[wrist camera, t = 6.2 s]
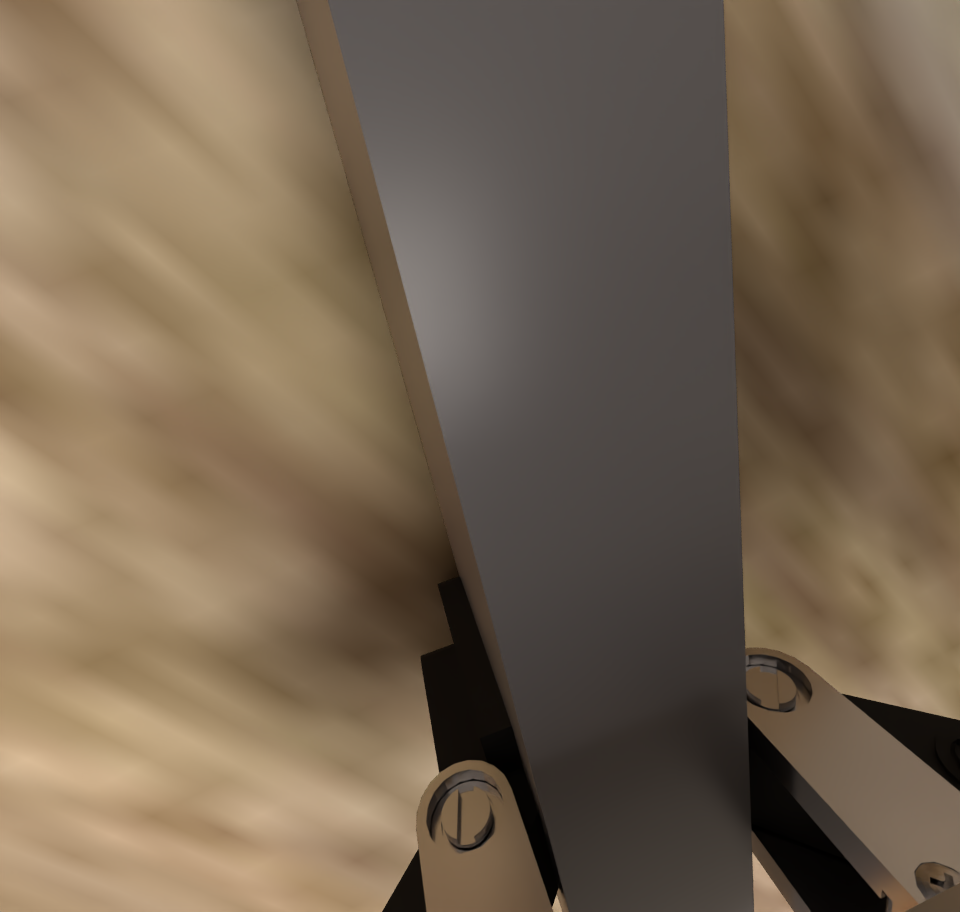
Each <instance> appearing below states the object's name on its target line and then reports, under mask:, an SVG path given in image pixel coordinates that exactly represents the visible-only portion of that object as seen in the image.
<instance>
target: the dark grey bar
mask: <svg viewBox="0 0 960 912" xmlns="http://www.w3.org/2000/svg"><path fill="white" fill-rule="evenodd" d="M296 1H297V5H298V8H299V12H300V15H301V19H302V22H303V26H304V30H305V33H306V37H307V40H308V44H309V47H310V51H311V54H312V58H313V61H314V65H315V68H316V72H317V75H318V79H319V82H320V86H321V90H322V93H323V97H324V100H325V104H326V107H327V111H328V114H329V118H330V121H331V125H332V128H333V132H334V135H335V139H336V143H337V146H338V150H339V153H340V157H341V160H342V164H343V167H344V171H345V174H346V178H347V181H348V185H349V188H350V192H351V195H352V199H353V203H354V206H355V210H356V213H357V217H358V220H359V224H360V227H361V231H362V234H363V238H364V241H365V245H366V248H367V252H368V256H369V259H370V263H371V266H372V270H373V273H374V277H375V280H376V284H377V287H378V291H379V294H380V298H381V301H382V305H383V309H384V312H385V316H386V319H387V323H388V326H389V330H390V333H391V337H392V340H393V344H394V347H395V351H396V354H397V358H398V361H399V365H400V369H401V372H402V376H403V379H404V383H405V386H406V390H407V393H408V397H409V400H410V404H411V407H412V411H413V414H414V418H415V422H416V425H417V429H418V432H419V436H420V439H421V443H422V446H423V450H424V453H425V457H426V460H427V464H428V467H429V471H430V474H431V478H432V482H433V485H434V489H435V492H436V496H437V499H438V503H439V506H440V510H441V513H442V517H443V520H444V524H445V527H446V531H447V535H448V538H449V542H450V545H451V549H452V552H453V556H454V559H455V563H456V566H457V570H458V573H459V577H460V578H461V580H462V583H463V586H464V589H465V592H466V595H467V598H468V601H469V603H470V606H471V609H472V612H473V615H474V618H475V621H476V624H477V627H478V629H479V632H480V635H481V638H482V641H483V644H484V647H485V650H486V653H487V655H488V658H489V661H490V664H491V667H492V670H493V673H494V676H495V679H496V682H497V684H498V687H499V690H500V693H501V696H502V699H503V702H504V705H505V708H506V710H507V713H508V716H509V719H510V722H511V725H512V728H513V732H514V736H515V739H516V743H517V747H518V750H519V754H520V758H521V761H522V765H523V768H524V771H525V774H526V777H527V780H528V783H529V786H530V789H531V792H532V795H533V798H534V801H535V804H536V807H537V810H538V813H539V817H540V820H541V824H542V828H543V831H544V835H545V839H546V842H547V846H548V850H549V854H550V857H551V861H552V865H553V868H554V872H555V876H556V880H557V883H558V887H559V888H558V891H557V896H558V899H559V902H560V905H561V908H562V912H754V896H753V866H752V837H751V807H750V777H749V747H748V718H747V688H746V658H745V629H744V599H743V569H742V539H741V510H740V480H739V450H738V421H737V391H736V361H735V331H734V302H733V272H732V242H731V213H730V183H729V153H728V123H727V94H726V64H725V34H724V4H723V0H296Z"/></svg>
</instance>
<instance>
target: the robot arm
mask: <svg viewBox="0 0 960 912" xmlns="http://www.w3.org/2000/svg"><path fill="white" fill-rule="evenodd" d="M438 587H439V591H440V594H441V598H442V602H443V605H444V609H445V613H446V616H447V620H448V624H449V627H450V631H451V634H452V638H453V642H454V644H452V645H450V646H447V647H444V648H441V649H438V650H436V651H433V652H430V653H427V654H425V655H422V656H421V665H422V671H423V677H424V683H425V689H426V695H427V701H428V707H429V713H430V719H431V725H432V731H433V737H434V743H435V750H436V756H437V762H438V768H439V774H438V775H437V776H436V777H435V778H434V779H433V780H432V781H431V782H430V784H429V785H428V787H427V789H426V790H425V792H424V794H423V795H422V797H421V800H420V804H419V807H418V810H417V819H416V832H417V840H418V848H419V849H418V851H417V852H416V854H415V856H414V857H413V859H412V861H411V863H410V864H409V866H408V868H407V870H406V871H405V873H404V875H403V877H402V878H401V880H400V882H399V883H398V885H397V887H396V889H395V890H394V892H393V894H392V896H391V897H390V899H389V901H388V903H387V904H386V906H385V908H384V909H383V911H382V912H553V910H552V906H553V903H554V900H555V897H556V894H557V891H558V888H559V887H558V883H557V880H556V876H555V872H554V868H553V865H552V861H551V857H550V854H549V850H548V846H547V842H546V839H545V835H544V831H543V828H542V824H541V820H540V817H539V813H538V810H537V807H536V804H535V801H534V798H533V795H532V792H531V789H530V786H529V783H528V780H527V777H526V774H525V771H524V768H523V765H522V761H521V758H520V754H519V750H518V747H517V743H516V739H515V736H514V732H513V728H512V725H511V722H510V719H509V716H508V713H507V710H506V708H505V705H504V702H503V699H502V696H501V693H500V690H499V687H498V684H497V682H496V679H495V676H494V673H493V670H492V667H491V664H490V661H489V658H488V655H487V653H486V650H485V647H484V644H483V641H482V638H481V635H480V632H479V629H478V627H477V624H476V621H475V618H474V615H473V612H472V609H471V606H470V603H469V601H468V598H467V595H466V592H465V589H464V586H463V583H462V580H461V578H460V577H457V578H454V579H451V580H448V581H446V582H443V583H440V584H438ZM745 658H746V688H747V718H748V747H749V777H750V807H751V837H752V852H753V853H754V855H755V856H756V858H757V859H758V860H759V862H760V863H761V865H762V866H763V868H764V869H765V870H766V872H767V873H768V875H769V876H770V878H771V879H772V881H773V882H774V883H775V885H776V886H777V888H778V889H779V891H780V892H781V893H782V895H783V896H784V898H785V899H786V901H787V902H788V904H789V905H790V906H791V908H792V909H793V911H794V912H960V720H956V719H952V718H947V717H943V716H938V715H934V714H929V713H925V712H921V711H916V710H912V709H907V708H903V707H898V706H894V705H890V704H885V703H881V702H876V701H872V700H867V699H863V698H859V697H854V696H850V695H845V694H841V693H840V692H839V691H837V690H836V689H835V688H834V687H832V686H831V685H830V684H829V683H828V682H826V681H825V680H824V679H823V678H822V677H820V676H819V675H818V674H817V673H815V672H814V671H813V670H812V669H811V668H809V667H808V666H807V665H805V664H804V663H802V662H801V661H799V660H798V659H796V658H795V657H792V656H790V655H787V654H785V653H783V652H780V651H776V650H771V649H767V648H746V649H745Z"/></svg>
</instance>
